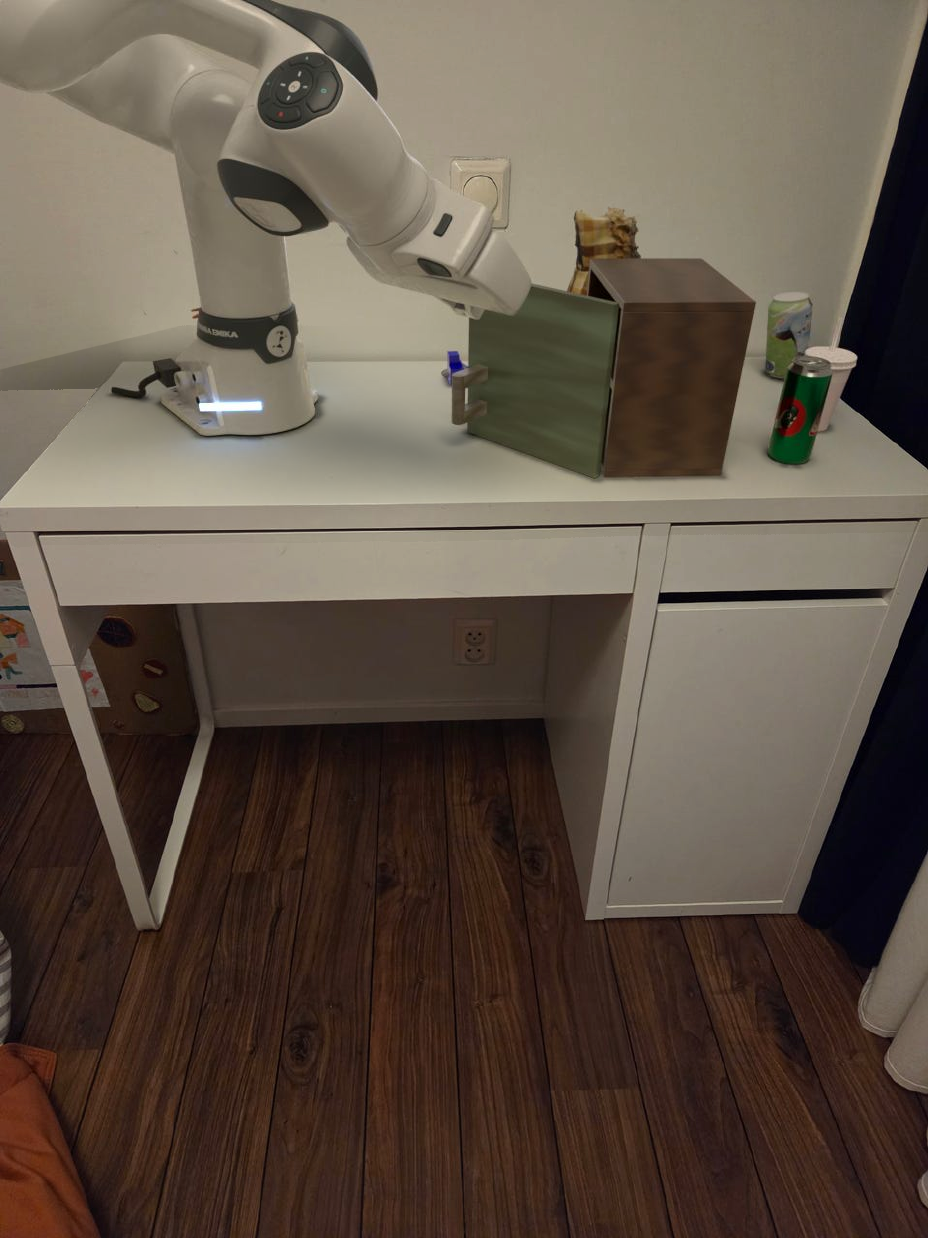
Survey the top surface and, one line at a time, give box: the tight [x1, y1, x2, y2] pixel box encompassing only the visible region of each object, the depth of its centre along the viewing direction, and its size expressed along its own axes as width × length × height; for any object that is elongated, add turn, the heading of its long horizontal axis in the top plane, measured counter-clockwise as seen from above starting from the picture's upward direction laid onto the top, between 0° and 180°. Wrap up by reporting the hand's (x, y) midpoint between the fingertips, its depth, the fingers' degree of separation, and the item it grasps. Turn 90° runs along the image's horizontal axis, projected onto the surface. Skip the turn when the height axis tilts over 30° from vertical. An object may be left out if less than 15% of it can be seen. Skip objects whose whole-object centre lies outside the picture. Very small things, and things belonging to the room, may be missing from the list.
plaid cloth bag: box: [566, 206, 642, 296], centre depth 119 cm, size 14×14×25 cm
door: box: [451, 282, 619, 479], centre depth 97 cm, size 6×20×20 cm, turn 48°
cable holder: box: [446, 350, 468, 387], centre depth 125 cm, size 8×4×4 cm, turn 99°
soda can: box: [767, 356, 833, 466], centre depth 101 cm, size 5×5×12 cm
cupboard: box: [587, 257, 757, 479], centre depth 102 cm, size 14×20×20 cm
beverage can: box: [764, 291, 813, 380], centre depth 126 cm, size 6×7×12 cm
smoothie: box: [804, 316, 858, 433], centre depth 109 cm, size 6×6×14 cm
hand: (472, 311), depth 90 cm, fingers closed
